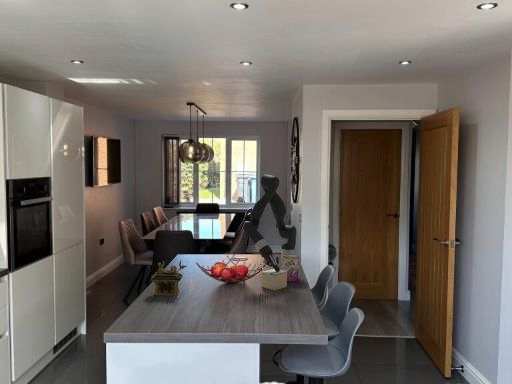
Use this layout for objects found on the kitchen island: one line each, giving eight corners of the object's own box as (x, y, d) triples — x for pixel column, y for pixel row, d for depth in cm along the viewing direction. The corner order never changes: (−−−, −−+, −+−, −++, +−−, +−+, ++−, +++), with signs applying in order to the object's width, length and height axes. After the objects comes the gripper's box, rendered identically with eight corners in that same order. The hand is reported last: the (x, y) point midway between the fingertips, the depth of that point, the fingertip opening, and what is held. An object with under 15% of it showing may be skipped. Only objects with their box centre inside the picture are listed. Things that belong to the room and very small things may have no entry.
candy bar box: (280, 281, 302) (281, 256, 301) (281, 279, 307) (281, 254, 306) (298, 282, 301) (298, 256, 300) (298, 280, 306) (299, 255, 305)
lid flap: (274, 269, 294) (274, 268, 294) (286, 271, 288) (286, 270, 288) (261, 272, 285) (261, 271, 285) (274, 274, 279) (274, 273, 279)
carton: (273, 284, 295) (274, 269, 295) (286, 286, 289) (286, 272, 288) (261, 287, 286) (261, 272, 285) (274, 290, 279) (274, 275, 279)
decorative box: (150, 295, 263) (150, 260, 262) (153, 291, 273) (154, 257, 272) (186, 296, 263) (186, 261, 262) (188, 291, 273) (188, 258, 272)
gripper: (260, 245, 285) (275, 269, 277) (273, 243, 295) (288, 266, 287) (253, 253, 288) (268, 276, 281) (267, 250, 298) (281, 273, 291)
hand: (278, 271), depth 284 cm, fingers closed
